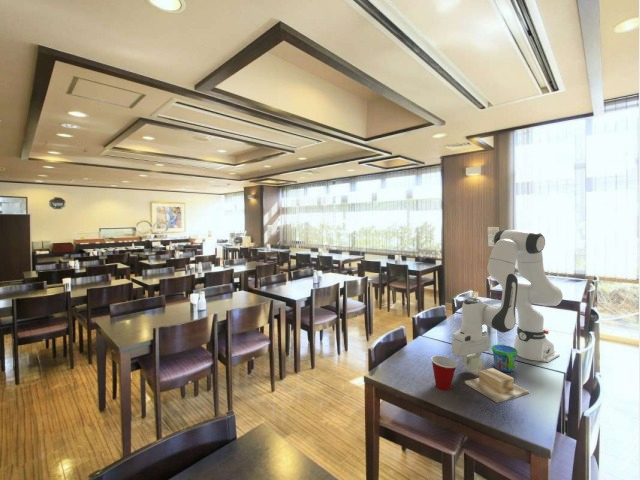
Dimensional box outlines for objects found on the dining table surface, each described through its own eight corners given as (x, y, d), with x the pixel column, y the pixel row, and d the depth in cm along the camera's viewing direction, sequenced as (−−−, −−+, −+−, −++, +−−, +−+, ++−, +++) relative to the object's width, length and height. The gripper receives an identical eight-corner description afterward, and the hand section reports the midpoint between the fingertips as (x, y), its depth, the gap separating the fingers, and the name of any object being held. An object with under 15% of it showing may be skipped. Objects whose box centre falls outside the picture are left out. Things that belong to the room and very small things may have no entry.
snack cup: (487, 360, 160) (487, 341, 160) (510, 363, 158) (511, 343, 157) (496, 375, 145) (497, 354, 144) (522, 378, 142) (522, 356, 142)
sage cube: (470, 363, 151) (470, 353, 150) (479, 367, 146) (479, 357, 146) (462, 365, 149) (462, 355, 149) (471, 370, 144) (471, 359, 144)
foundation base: (494, 375, 145) (494, 363, 144) (528, 393, 130) (529, 379, 130) (464, 383, 138) (465, 370, 138) (497, 402, 123) (497, 388, 123)
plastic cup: (460, 395, 129) (461, 366, 128) (432, 393, 131) (433, 364, 130) (453, 382, 139) (454, 355, 139) (428, 380, 141) (428, 353, 140)
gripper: (482, 328, 153) (481, 355, 154) (449, 334, 146) (449, 363, 147) (493, 332, 147) (493, 361, 148) (460, 339, 140) (459, 369, 141)
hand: (471, 362), depth 147 cm, fingers closed on sage cube, 5 cm apart
